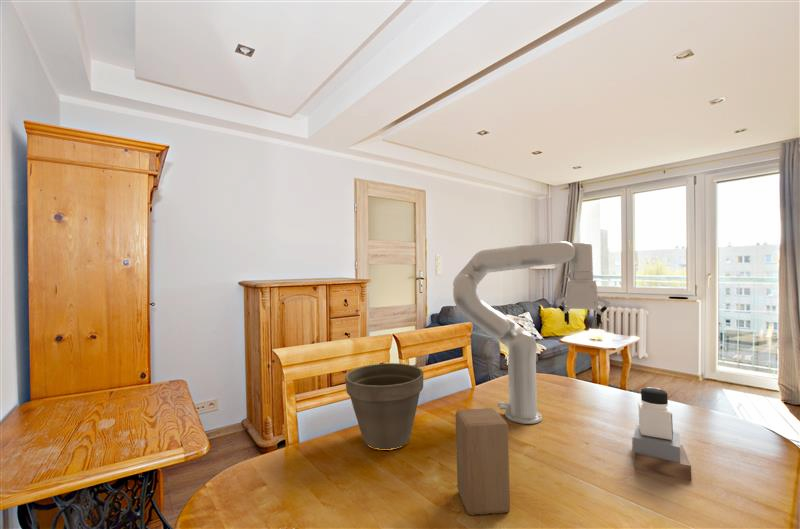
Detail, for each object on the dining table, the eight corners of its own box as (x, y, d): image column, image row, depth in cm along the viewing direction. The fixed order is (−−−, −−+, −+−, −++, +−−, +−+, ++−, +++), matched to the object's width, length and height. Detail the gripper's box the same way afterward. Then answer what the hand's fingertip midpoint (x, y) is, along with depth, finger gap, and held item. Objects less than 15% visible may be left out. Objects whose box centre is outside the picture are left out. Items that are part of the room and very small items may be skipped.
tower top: (633, 452, 100) (633, 437, 100) (636, 438, 108) (636, 424, 108) (680, 463, 94) (679, 447, 94) (679, 447, 102) (679, 433, 102)
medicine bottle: (673, 440, 97) (671, 394, 97) (640, 435, 100) (639, 390, 101) (669, 431, 103) (667, 387, 104) (639, 426, 106) (637, 384, 107)
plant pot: (358, 468, 102) (356, 389, 102) (339, 432, 125) (337, 368, 125) (438, 450, 111) (436, 377, 111) (407, 419, 134) (405, 359, 134)
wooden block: (456, 490, 90) (454, 408, 91) (496, 487, 91) (494, 406, 92) (467, 517, 80) (465, 425, 81) (511, 514, 81) (509, 422, 82)
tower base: (634, 470, 98) (634, 455, 98) (632, 450, 109) (631, 436, 109) (691, 482, 92) (691, 465, 92) (683, 459, 103) (682, 445, 103)
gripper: (554, 277, 133) (555, 325, 132) (609, 276, 125) (610, 327, 124) (556, 276, 139) (557, 322, 139) (608, 276, 131) (610, 324, 131)
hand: (582, 324), depth 132 cm, fingers open, 9 cm apart
